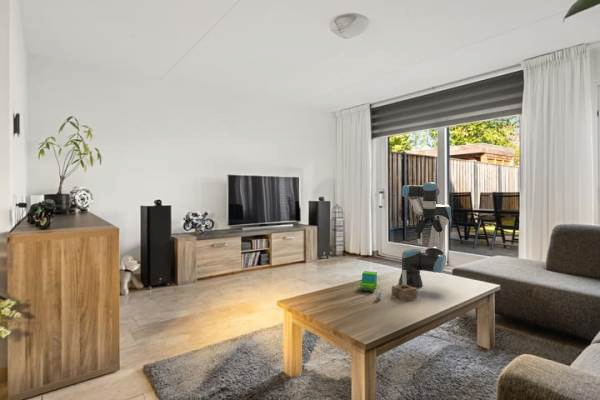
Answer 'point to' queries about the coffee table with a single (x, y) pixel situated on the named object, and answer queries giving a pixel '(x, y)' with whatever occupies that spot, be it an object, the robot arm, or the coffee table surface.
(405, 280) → the long pin
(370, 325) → the coffee table surface
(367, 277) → the toy car
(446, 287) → the coffee table surface
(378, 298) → the short pin
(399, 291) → the hole block
